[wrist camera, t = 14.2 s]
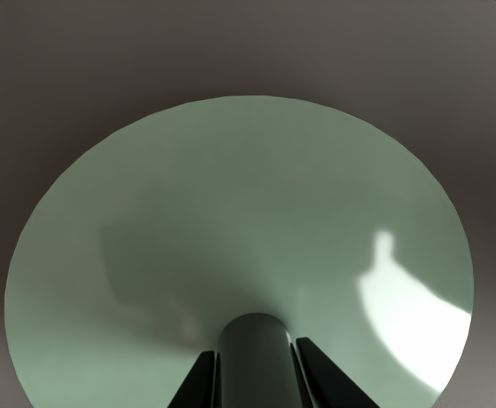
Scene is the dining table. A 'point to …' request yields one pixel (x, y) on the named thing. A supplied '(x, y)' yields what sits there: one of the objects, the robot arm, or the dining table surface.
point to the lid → (239, 262)
